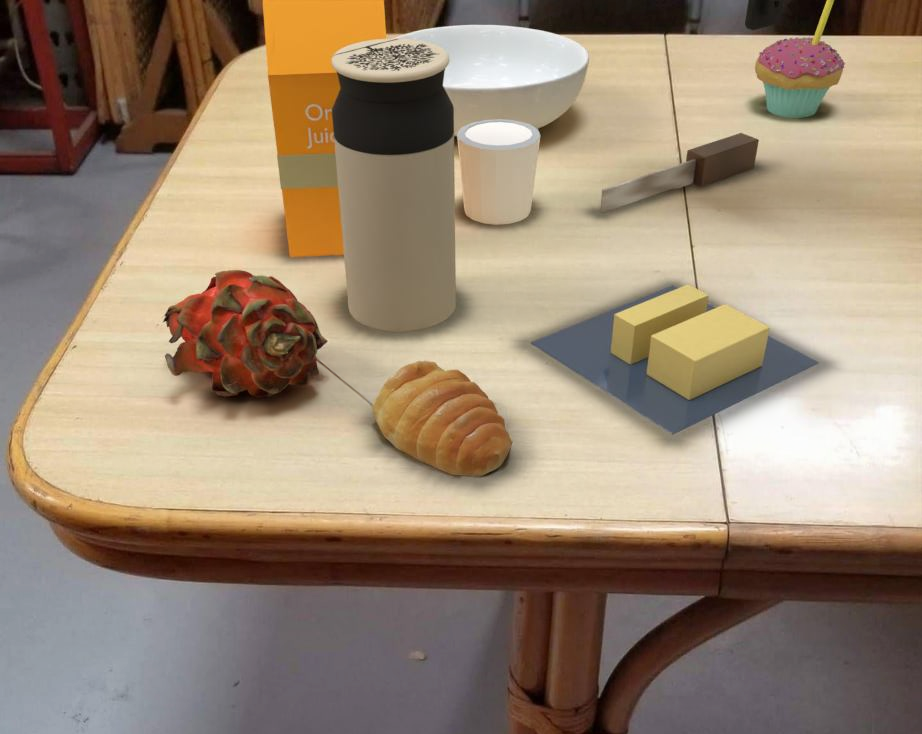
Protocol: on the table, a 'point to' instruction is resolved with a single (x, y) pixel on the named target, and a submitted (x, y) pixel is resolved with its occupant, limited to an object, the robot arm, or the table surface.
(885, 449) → the table surface
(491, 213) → the cup of milk
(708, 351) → the butter block
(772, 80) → the cupcake
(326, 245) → the orange juice
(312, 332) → the dragon fruit
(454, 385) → the pastry
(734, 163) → the knife
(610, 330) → the butter dish
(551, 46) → the serving bowl
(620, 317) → the butter slice
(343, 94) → the travel mug
